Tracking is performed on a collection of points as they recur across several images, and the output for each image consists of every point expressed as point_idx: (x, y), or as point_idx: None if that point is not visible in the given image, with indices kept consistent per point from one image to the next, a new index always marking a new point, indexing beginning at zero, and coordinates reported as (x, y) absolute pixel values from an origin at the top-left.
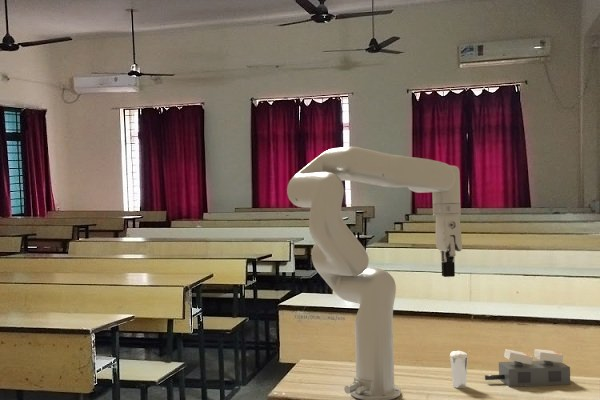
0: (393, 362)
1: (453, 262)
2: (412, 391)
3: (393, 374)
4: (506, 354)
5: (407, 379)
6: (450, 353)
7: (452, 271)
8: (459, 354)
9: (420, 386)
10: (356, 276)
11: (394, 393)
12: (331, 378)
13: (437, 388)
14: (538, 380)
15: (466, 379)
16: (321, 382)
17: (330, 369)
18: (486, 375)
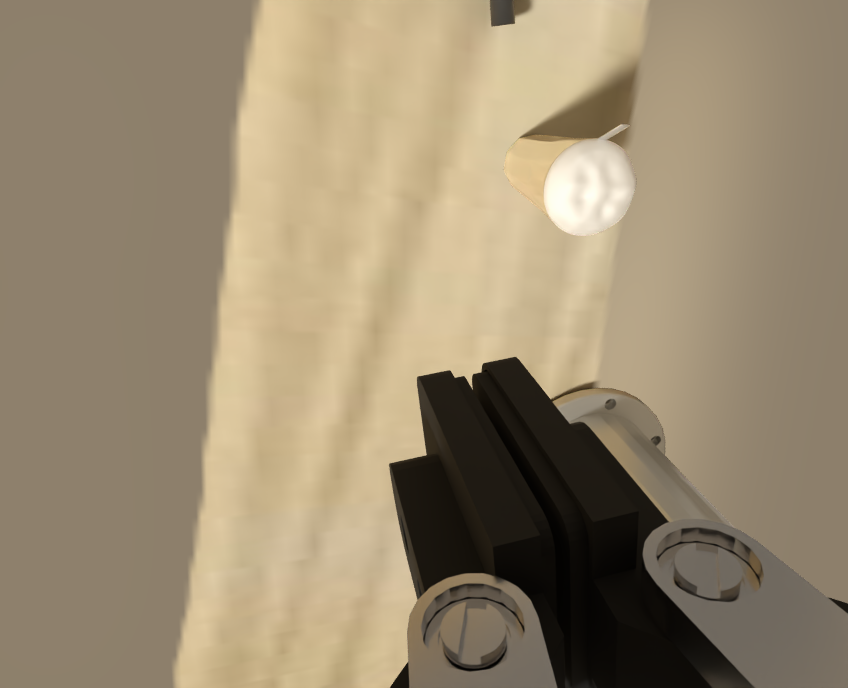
0: (662, 471)
1: (637, 526)
2: (569, 348)
3: (641, 445)
4: None
5: (424, 365)
6: (576, 232)
7: (594, 433)
8: (632, 192)
9: (515, 319)
10: None
11: (640, 411)
12: (411, 598)
13: (544, 257)
14: None
15: (548, 135)
16: None
17: (299, 622)
18: (508, 18)
